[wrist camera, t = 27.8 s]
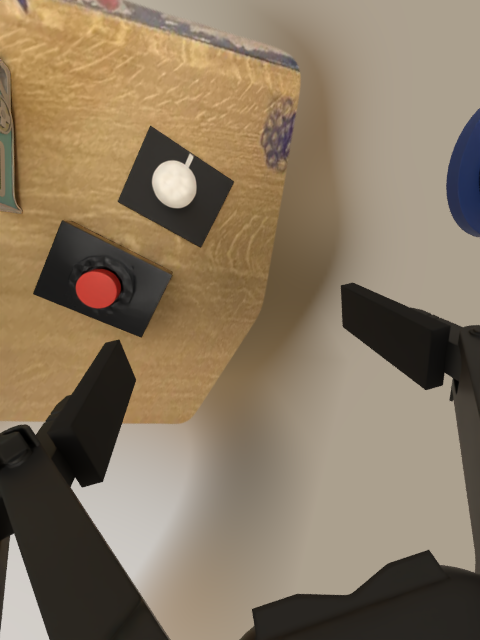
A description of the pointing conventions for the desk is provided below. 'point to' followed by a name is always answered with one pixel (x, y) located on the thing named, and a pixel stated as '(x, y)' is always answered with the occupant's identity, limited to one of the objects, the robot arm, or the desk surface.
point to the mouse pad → (181, 221)
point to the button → (98, 288)
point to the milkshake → (174, 183)
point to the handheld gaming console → (6, 145)
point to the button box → (101, 253)
